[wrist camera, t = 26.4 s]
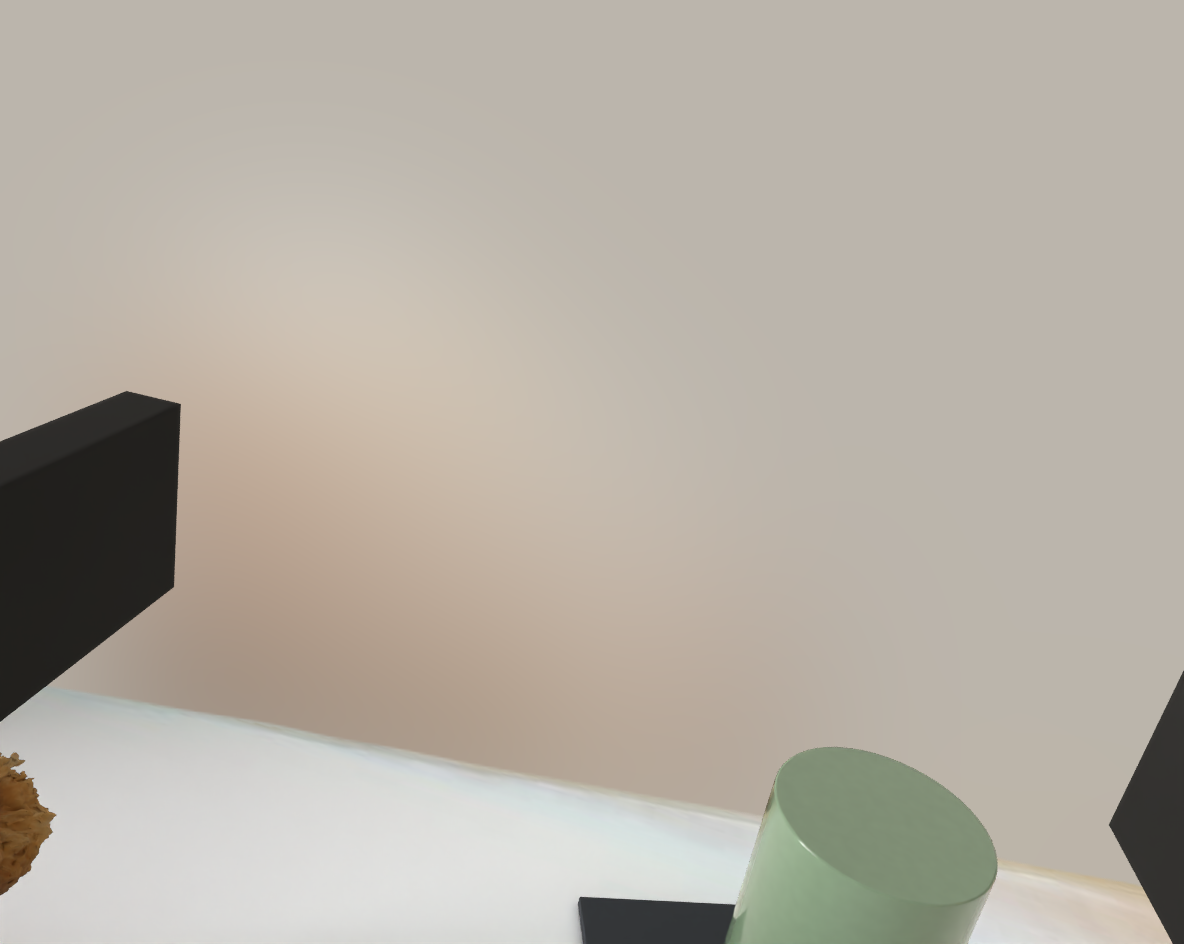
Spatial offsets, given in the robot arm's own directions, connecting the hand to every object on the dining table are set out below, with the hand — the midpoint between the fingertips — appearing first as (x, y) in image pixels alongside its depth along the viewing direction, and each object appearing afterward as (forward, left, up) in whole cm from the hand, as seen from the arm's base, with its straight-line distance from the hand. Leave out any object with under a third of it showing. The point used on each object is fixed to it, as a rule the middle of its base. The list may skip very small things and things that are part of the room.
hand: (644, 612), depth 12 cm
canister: (-12, +13, -24) cm, 29 cm away
